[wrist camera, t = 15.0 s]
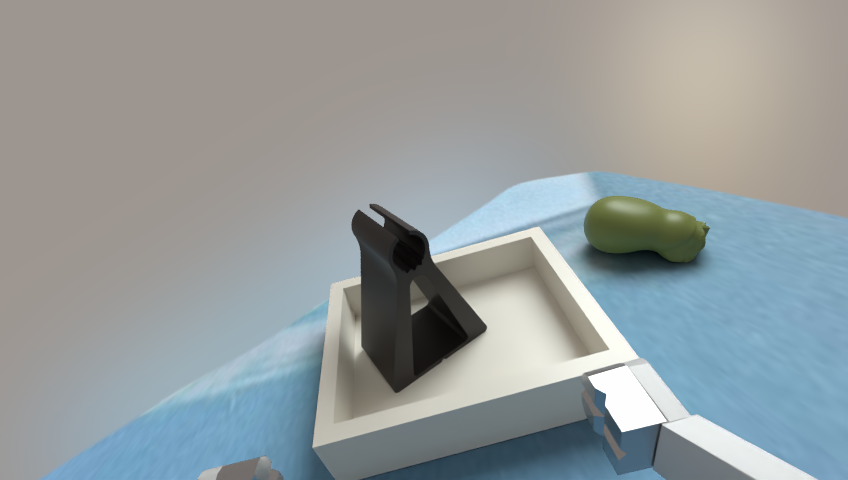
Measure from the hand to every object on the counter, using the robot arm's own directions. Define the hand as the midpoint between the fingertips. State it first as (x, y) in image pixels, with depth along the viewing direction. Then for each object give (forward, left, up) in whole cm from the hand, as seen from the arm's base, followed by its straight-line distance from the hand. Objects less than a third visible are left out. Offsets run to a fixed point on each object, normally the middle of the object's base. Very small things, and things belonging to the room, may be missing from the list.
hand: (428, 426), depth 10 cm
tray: (+1, +17, -16) cm, 23 cm away
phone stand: (-1, +18, -16) cm, 24 cm away
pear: (+20, +23, -17) cm, 35 cm away
